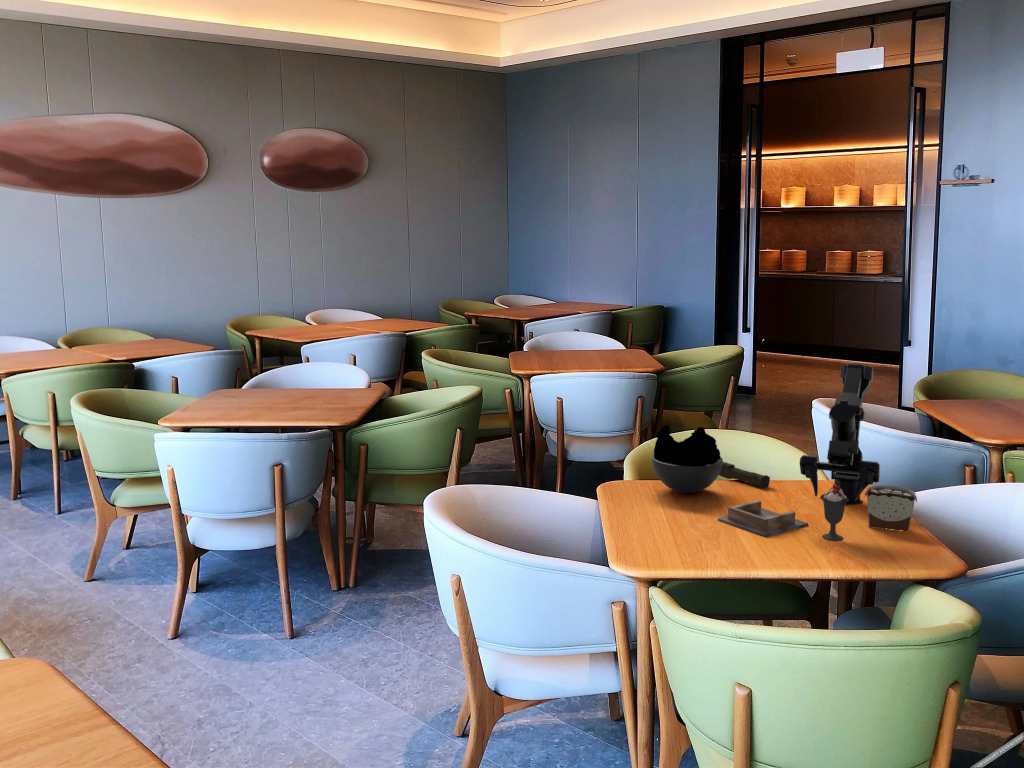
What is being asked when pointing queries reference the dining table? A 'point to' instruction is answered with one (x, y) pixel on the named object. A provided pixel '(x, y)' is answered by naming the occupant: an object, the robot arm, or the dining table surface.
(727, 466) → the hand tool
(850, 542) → the dining table surface
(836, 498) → the sundae
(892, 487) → the food container
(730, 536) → the dining table surface
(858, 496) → the robot arm
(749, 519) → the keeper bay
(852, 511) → the dining table surface
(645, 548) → the dining table surface
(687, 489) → the coal bowl
